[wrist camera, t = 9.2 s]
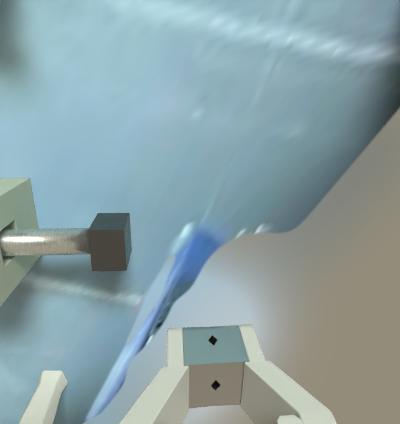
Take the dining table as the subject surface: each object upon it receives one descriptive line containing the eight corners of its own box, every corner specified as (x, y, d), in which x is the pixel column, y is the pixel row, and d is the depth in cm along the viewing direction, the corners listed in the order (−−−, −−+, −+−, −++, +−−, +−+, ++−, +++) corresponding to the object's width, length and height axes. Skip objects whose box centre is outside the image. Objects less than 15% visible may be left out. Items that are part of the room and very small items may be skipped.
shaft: (129, 213, 30) (124, 229, 26) (131, 249, 31) (126, 270, 27) (-107, 214, 27) (-150, 232, 24) (-94, 253, 29) (-132, 276, 25)
